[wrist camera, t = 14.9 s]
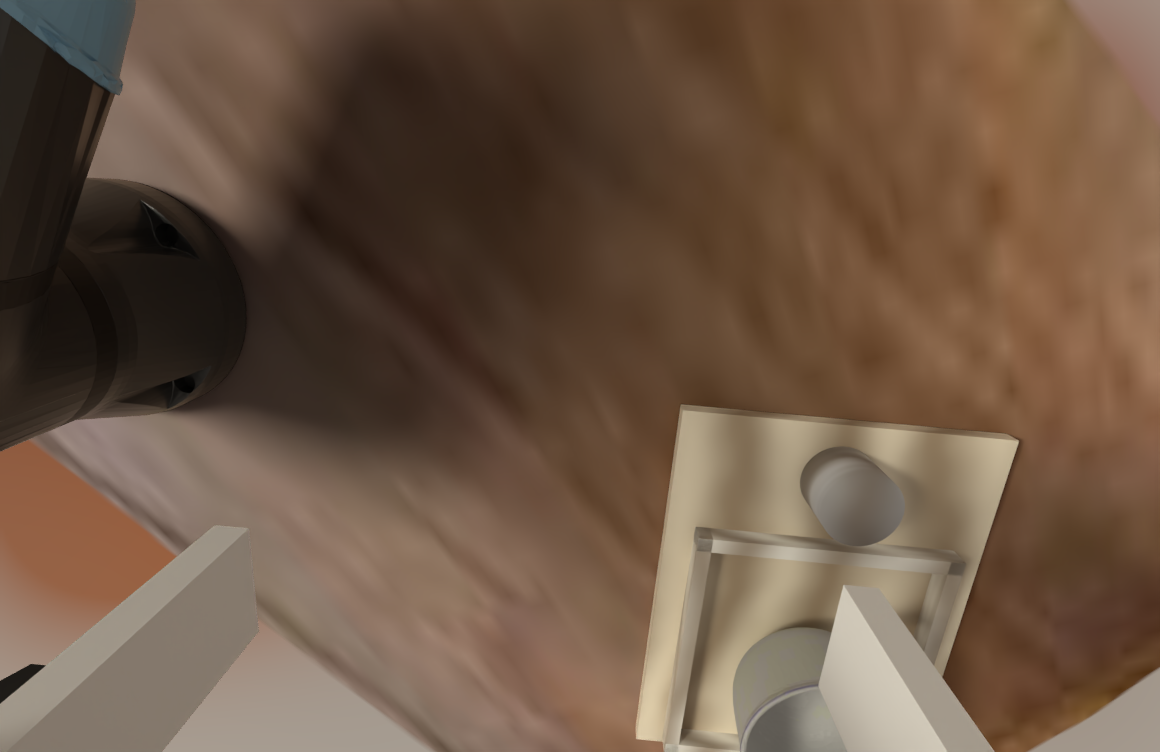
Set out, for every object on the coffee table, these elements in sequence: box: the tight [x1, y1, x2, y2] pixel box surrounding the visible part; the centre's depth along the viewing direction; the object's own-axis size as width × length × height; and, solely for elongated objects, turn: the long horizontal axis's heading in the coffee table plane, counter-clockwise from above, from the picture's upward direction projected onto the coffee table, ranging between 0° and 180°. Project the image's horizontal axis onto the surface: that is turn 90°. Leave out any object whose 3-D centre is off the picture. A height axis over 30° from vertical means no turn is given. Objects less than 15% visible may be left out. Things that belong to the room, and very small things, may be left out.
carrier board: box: [636, 404, 1019, 752], centre depth 41 cm, size 22×28×5 cm
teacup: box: [733, 627, 847, 752], centre depth 40 cm, size 14×11×8 cm
